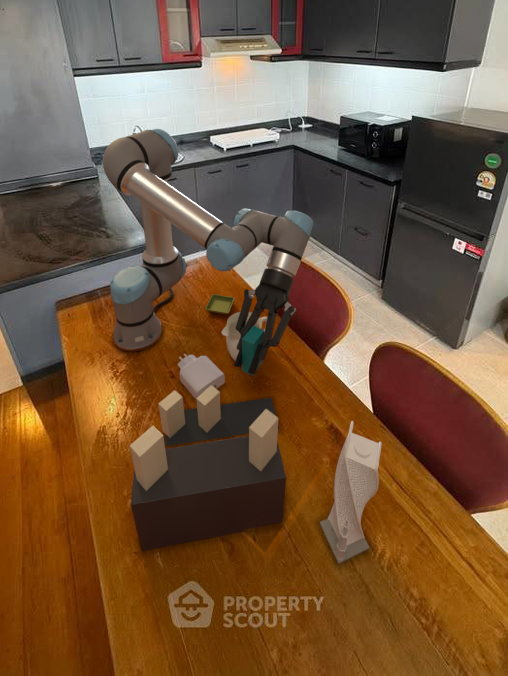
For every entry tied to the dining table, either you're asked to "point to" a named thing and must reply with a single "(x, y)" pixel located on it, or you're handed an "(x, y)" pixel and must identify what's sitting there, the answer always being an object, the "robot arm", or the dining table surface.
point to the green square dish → (219, 304)
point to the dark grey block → (208, 417)
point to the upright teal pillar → (251, 347)
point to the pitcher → (236, 332)
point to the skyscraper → (352, 495)
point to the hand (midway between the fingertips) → (244, 369)
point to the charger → (199, 374)
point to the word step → (207, 486)
